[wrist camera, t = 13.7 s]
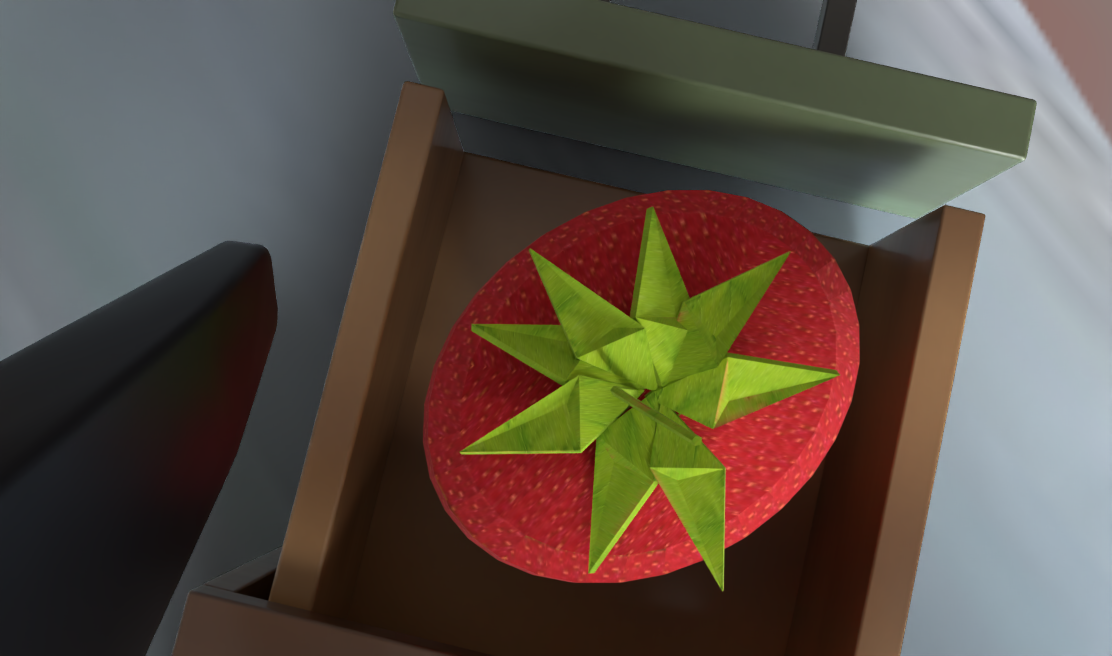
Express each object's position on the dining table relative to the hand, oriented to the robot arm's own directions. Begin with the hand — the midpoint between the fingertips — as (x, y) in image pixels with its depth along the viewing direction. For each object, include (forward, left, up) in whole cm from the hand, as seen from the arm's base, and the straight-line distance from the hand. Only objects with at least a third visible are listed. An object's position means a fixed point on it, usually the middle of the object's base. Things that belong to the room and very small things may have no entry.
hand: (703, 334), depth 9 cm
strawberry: (0, 0, -11) cm, 11 cm away
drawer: (+1, 0, -12) cm, 12 cm away
